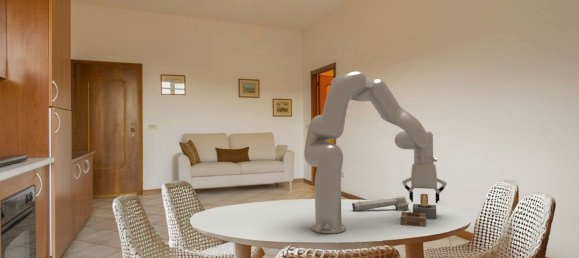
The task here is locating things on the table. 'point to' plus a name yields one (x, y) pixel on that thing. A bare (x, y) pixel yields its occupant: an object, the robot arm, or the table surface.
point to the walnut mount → (413, 219)
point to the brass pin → (424, 200)
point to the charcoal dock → (425, 210)
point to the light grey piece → (381, 204)
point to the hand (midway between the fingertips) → (424, 202)
